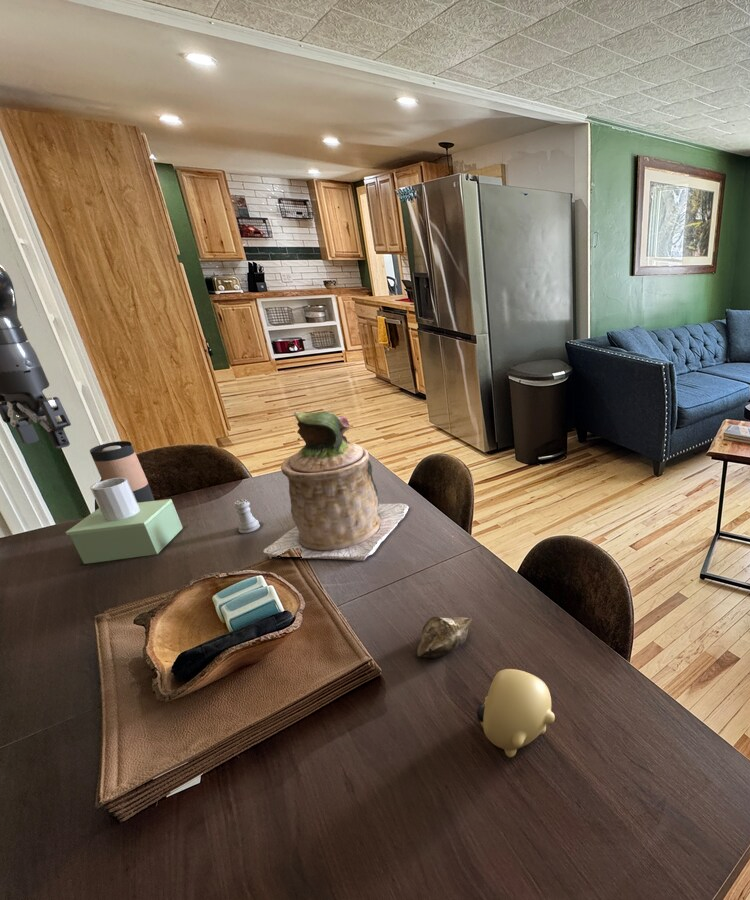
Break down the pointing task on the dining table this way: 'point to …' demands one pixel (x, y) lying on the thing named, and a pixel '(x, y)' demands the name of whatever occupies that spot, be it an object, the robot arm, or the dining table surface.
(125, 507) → the cup
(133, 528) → the container
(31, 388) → the robot arm
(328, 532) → the cookie jar
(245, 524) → the rook chess piece
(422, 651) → the fossilized seashell
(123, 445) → the travel mug
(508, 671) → the toy pig
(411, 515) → the dining table surface
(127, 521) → the container lid
